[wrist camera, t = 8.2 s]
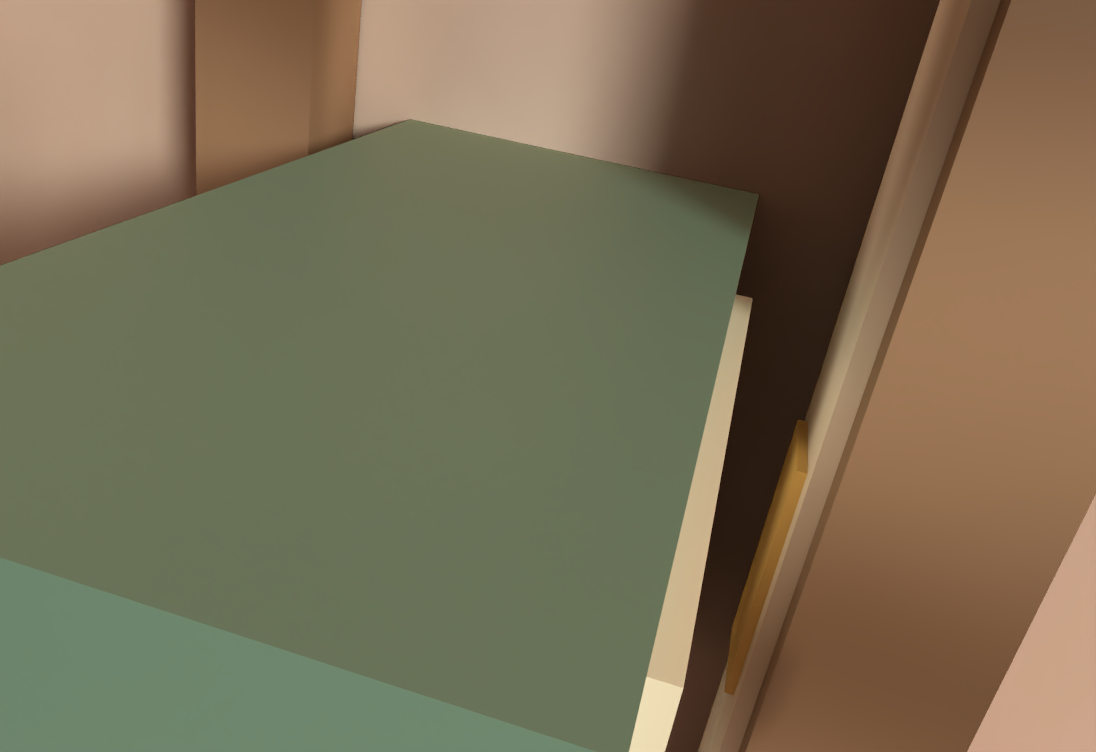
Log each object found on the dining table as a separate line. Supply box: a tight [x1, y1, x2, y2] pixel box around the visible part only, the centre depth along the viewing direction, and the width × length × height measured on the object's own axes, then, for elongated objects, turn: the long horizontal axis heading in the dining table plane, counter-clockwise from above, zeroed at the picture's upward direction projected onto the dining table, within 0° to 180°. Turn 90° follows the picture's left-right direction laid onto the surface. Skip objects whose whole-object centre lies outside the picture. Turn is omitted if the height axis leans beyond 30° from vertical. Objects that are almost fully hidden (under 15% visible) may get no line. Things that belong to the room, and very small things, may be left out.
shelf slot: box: [195, 0, 1096, 752], centre depth 11 cm, size 24×10×4 cm, turn 170°
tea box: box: [0, 119, 759, 752], centre depth 9 cm, size 5×7×9 cm
